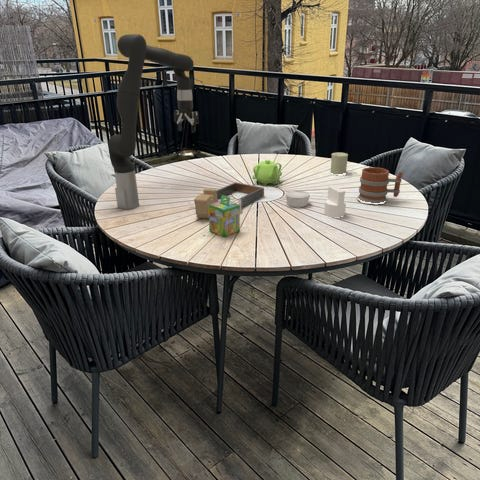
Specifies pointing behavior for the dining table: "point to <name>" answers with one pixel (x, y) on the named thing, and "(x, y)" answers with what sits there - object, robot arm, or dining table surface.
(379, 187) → the mug
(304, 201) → the ramekin
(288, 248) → the dining table surface
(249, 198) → the bay
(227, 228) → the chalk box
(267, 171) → the teapot
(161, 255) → the dining table surface
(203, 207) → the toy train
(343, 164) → the can
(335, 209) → the white stepped block
